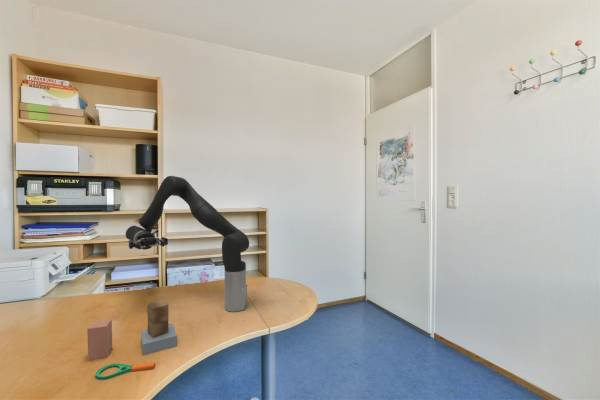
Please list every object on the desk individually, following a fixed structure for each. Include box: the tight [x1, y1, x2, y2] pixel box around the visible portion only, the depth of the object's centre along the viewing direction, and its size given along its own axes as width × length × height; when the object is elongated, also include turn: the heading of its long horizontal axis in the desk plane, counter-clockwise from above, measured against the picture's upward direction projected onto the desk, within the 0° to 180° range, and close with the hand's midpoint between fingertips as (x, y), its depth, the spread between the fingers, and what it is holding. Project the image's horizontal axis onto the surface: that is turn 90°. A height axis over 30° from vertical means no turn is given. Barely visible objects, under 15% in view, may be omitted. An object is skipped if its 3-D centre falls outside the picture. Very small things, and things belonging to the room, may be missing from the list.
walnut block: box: [147, 299, 169, 338], centre depth 95 cm, size 5×5×10 cm
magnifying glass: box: [95, 361, 156, 381], centre depth 81 cm, size 15×6×2 cm, turn 102°
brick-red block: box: [86, 318, 113, 362], centre depth 88 cm, size 5×5×10 cm
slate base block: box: [140, 322, 178, 356], centre depth 95 cm, size 10×10×4 cm
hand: (151, 245), depth 112 cm, fingers open, 8 cm apart
